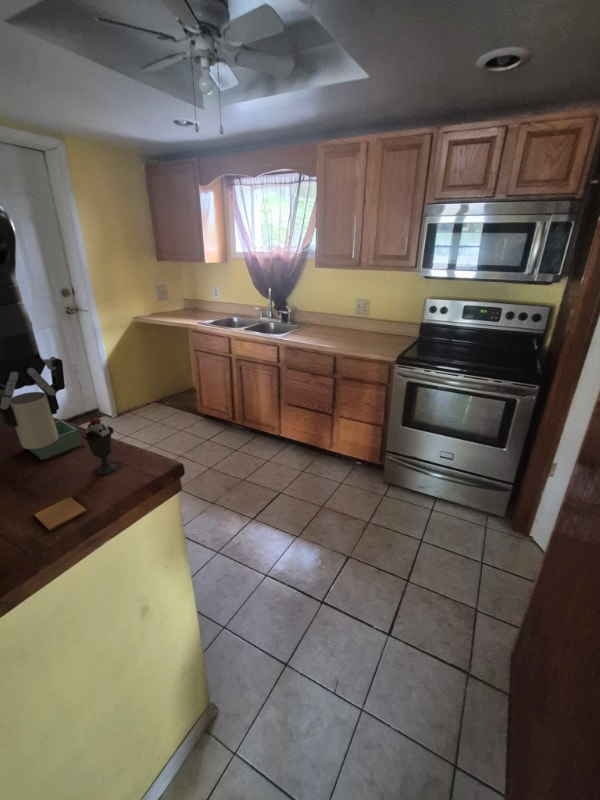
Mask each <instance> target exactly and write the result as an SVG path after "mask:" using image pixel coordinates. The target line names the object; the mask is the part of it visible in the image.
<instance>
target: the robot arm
mask: <svg viewBox="0 0 600 800" xmlns="http://www.w3.org/2000/svg"><path fill="white" fill-rule="evenodd" d="M16 267H17V232H16V228H15V225H14V222H13V220H12V218H11V216H10V214H9V213H8V212H7V210H6V209H5V208H4V207H3V206H2V205H1V204H0V417H1V421H2V423H3V424H5V425H6V426H8V427H10V428H15V427H16V426H17V423H16V420H15V417H14V414H13V411H12V408H10V407H9V404H10V400H11V398H12V397H14V392H15V390H20V389H22V388H24V387H32V386H36V387H38V389H40V390H41V392H43V393H46V394H47V398H48V401H49V405H50V408H51V411H52V415H53V416H54V415H56V414H58V411H59V410H60V406H59V402H58V399H57V393H58V392H59V391H63V390H65V387H66V383H65V375H64V374H65V373H64V364H63V360H62V359H61V358H57V357H56V356H51V357H50V358H45V359H44V358H42V356H41V354H40V350H39V346H38V343H37V339H36V336H35V333H34V329H33V323H32V321H31V319H30V314H29V312H28V310H27V308H26V306H25V303H24V301H23V297H22V293H21V290H20V287H19V283H18V280H17V276H16V275H17V274H16V272H17V271H16V270H17V268H16ZM45 367H47V369H48V370H49V371H50V376H51V383H52V384H49V382H47V380H46V379H45V378H44V377H43V376H42V374H43V371H44V369H45Z"/></svg>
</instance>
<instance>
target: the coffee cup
mask: <svg viewBox="0 0 600 800" xmlns="http://www.w3.org/2000/svg"><path fill="white" fill-rule="evenodd" d="M9 407H10V408H12V411H13V414H14V417H15V420H16V423H17V426H16V427H14V428H15V431H16V433H17V436H18V440H19V443H20V445H21V447H22V448H23V449H27V450H29V449H36V448H41V447H45V446H48V445H50V444H52V443H54V442H55V441H57V440H58V438H59V435H58V432H57V429H56V425H55V422H56V421H55V419H54V414H53V415H52V411H51V408H50V405H49V401H48V398H47V394H46V393H44V392H43V391H30V392H25V393H20V394H17V395H13V396H12V397H11V400H10V404H9Z"/></svg>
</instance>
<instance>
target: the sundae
mask: <svg viewBox="0 0 600 800" xmlns="http://www.w3.org/2000/svg"><path fill="white" fill-rule="evenodd" d="M92 412H93V414H94V415H93V418H92V419H90V422H89V424H88V425H87V427H86V430H85V431H84V432H83V434H81V438H82V439H84V440H86V442H87V444H88V447H89V449H90V451H91V453H92V455H93V456H94V457H96V458H100V459H101V466H99V468H98V469H95V470H94V472H95V474H97V475H101V476H103V475H108V474H112V473H114V472H115V471H116V470H117V469H118V464H117V463H115V462H111V463H110V462H109V461H108V457H109V456H110V454H111V452H112V449H113V447H112V446H113V445H112V435H113V434H114V432H115V430H114V428H113V427H112V426H110V425H107V424H105V423H104V422H102V419H100V418H99V416H98V414H97V413H96V409H94V410H92ZM95 417H96V418H95Z"/></svg>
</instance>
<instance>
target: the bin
mask: <svg viewBox="0 0 600 800" xmlns="http://www.w3.org/2000/svg"><path fill="white" fill-rule="evenodd" d="M54 422H55V425H56V429H57V432H58V435H59V438H58V440H57V441H55V442H54V443H52V444H50V445H48V446H45V447H41V448H36V449H28V450H29V451H30V452H31V453H32V454H34V455H35V456H36V457H37V458H39V459H40V460H42V461H43V460H45V459H48V458H50V457H53V456H57V455H58V454H61V453H64V452H66V451H69V450H71V449H73V448H77V447H79V446H81V445H82V441H81V437H80V434H79V430H78V428H76V427H74V426H73V425H70V424H69V423H68V422H65V421H63V420H62V419H60V420H57V421H54Z"/></svg>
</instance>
